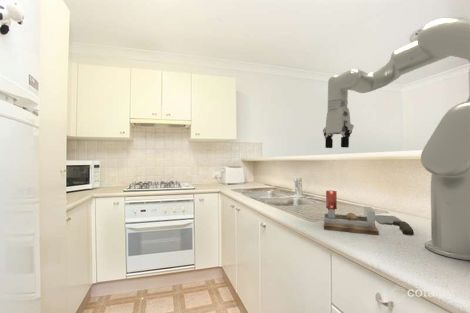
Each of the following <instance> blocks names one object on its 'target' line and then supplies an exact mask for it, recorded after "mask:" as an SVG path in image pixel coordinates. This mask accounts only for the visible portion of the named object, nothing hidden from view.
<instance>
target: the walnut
mask: <svg viewBox="0 0 470 313" xmlns="http://www.w3.org/2000/svg"><path fill="white" fill-rule="evenodd" d="M345 215H346V220H355V221H356V220H357V217H356V216H357V215H356V214H355V213H353V212H348V213H346V214H345Z"/></svg>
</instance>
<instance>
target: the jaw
mask: <svg viewBox="0 0 470 313" xmlns="http://www.w3.org/2000/svg"><path fill="white" fill-rule="evenodd" d="M337 196H338V194H337V191H336V190H325V202H326V203H325V206H326V207H325V208H326V209H327V213H328V218H332V219H335V214H336V209H337V208H338V206H337V198H338V197H337Z"/></svg>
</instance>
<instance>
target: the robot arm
mask: <svg viewBox="0 0 470 313" xmlns="http://www.w3.org/2000/svg"><path fill="white" fill-rule="evenodd" d="M449 57H455V58H460V59H464V60H466V61H468V62H469V63H470V19H463V18H455V17H454V18H453V17H443V18H437V19H435V20H432V21H430V22H429V23H427V24H425V26H423V27H422V28H421V29H420V31H419V33H418V35H417V37H416V40H415V41H412V42H410V43H408V44H406V45H403V46H401V47H399V48H397V49H395V50H394V51H393V52H392V53H391V55H390V59H389V60H388V62H387V63H386V64H385V65H383V66H382V67H380V68H378V69H376V70H373V71H371V72H366V71H363V70H361V69H358V68H352V69H348V70H347V71H345V72H343V73H341V74H336V75H333V76H330V77H329V79H328V81H327V82H328V83H327V112H326V117H325V118H326V119H325V127H324V128H323V129H322V132H323V136H324V139H325V146H324V147H325V148H326V149H333V145H334V144H333V142H334V141H333V140H334V139H333V136H334V135H341V137H340V148H346V149H347V148H349V146H350V138H351V134H352V132H353V129H354V124H352V123H351V114H350V110H349V108H348V103H349V102H348V99H349V96H348V94H349V91H353V92H356V93H359V94H367V93H370V92H373V91H376V90H379V89H382V88H383V87H386V86H388V85H390V84H391V83H393V82H395V81H396V80H398V79H399V78H400V77H402V75H405V74H408V73H410V72H413V71H415V70H417V69H420V68H423V67H425V66H427V65H431V64H434V63H436V62H439V61H441V60H444V59H446V58H449ZM420 162H421V165H422V167H423V168H424V169H425V170H426V171H427V172H429V173H431V177H430V178H431V180H430V221H431V222H430V223H431V224H430V226H431V227H430V228H431V230H430V232H431V240H427V241H425V242H424V246H425V248H426V249H427V250H428V251H431V252H433V253H435V254H438V255H441V256H444V257H449V258H451V259H452V258H453V259H457V260H464V261H470V96H469V97H468V98H467V100H466V101H463V102H460V103H457V104H456V105H454V106H452V107H451V108H449V110H447V112H445V114H444V115H443V117H442V118H441V120H440V121H439V123H438V125H437V126H436V127H435V129H434V131H433V133H432V134H431V135H430V137H429V139H428V141H427V142H426V143H425V145H424V147H423V149H422V151H421V154H420Z"/></svg>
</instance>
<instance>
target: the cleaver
mask: <svg viewBox="0 0 470 313" xmlns="http://www.w3.org/2000/svg"><path fill="white" fill-rule="evenodd" d="M375 222H377V223H379V224H380V225H381V224H382V225H388V226H389V225H391V226H395V227H396V226H397V227H399V230H400V231H402V234H403V235H407V236H413V235H414V234H415V233H414V229H413V228H412V226H411V225H410V224H409V223H408V222H406V221H404V220H402V219H400V218H398V217H397V216H396V215H384V214H383V215H381V214H375Z"/></svg>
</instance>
